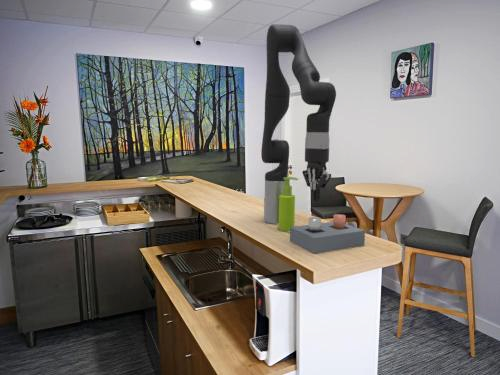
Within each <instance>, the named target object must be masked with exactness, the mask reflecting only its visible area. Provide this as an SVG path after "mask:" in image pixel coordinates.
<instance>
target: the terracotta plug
mask: <svg viewBox="0 0 500 375" xmlns="http://www.w3.org/2000/svg"><path fill="white" fill-rule="evenodd" d="M346 217H347V216H346V214H338V213H337V214H333V220H332V222H333V228H334V229H337V230H340V229H345V224H346V221H347V220H346Z"/></svg>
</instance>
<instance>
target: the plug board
mask: <svg viewBox="0 0 500 375" xmlns="http://www.w3.org/2000/svg"><path fill="white" fill-rule="evenodd" d="M308 229H309V224H303V225H294V227H290V232H289V242H291V243H293V244H294V245H295V246H296V245H297V246H298V247H300V248H302V249H304V250H306V251H307V252H310V253H312V254H314V255H315V254H321V253H326V252H332V251H333V252H334V251H339V250H344V249H345V250H346V249H350V248H357V247H361V246H365V240H366V230H364V229H362V228H359V227H356V226H353V225H350V224H347V223H345V229H340V230H337V229H334V228H333V221H328V222H321V232H319V233H311V232H309V231H308Z"/></svg>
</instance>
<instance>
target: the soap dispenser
mask: <svg viewBox="0 0 500 375" xmlns="http://www.w3.org/2000/svg"><path fill="white" fill-rule="evenodd" d="M284 180H285V185H284V186H283V194H282V195H279V224H278V230H279V231H280V232H286V233H287V232H289V233H290V227H294V226H295V214H296V213H295V210H296V196H295V194H293V192H292V191H293V187H292V185H290V184H291V183H290V182H291V181H290V180H293V181H298V180H299V178H297V177H293V176H292V177H291V176H290V177H289V176H288V177H284Z"/></svg>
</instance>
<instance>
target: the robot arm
mask: <svg viewBox="0 0 500 375" xmlns="http://www.w3.org/2000/svg"><path fill="white" fill-rule="evenodd" d="M279 53H292V54H293V59H292V62H291V71H292V73H293V75H294V78H295V79H296V81H297V82H298V86H299V90H300V96H301V99H302V101H303V102H304V103H305V104H307V105H309V106H319V107H318V109H317V111H316V112H312V113H310V114H308V115H307V116H306V126H305V127H306V133H305V139H304V140H305V142H304V161H305V163H307V164H306V169H305V170H302V176H303V178H304V180H305V183H306V186H307V187H309V188H310V190H311V192H310V197H311V202H320V199H321V190H323V189H325V188H326V186H327V185H328V183H329V182H330V180H331V178H332V174H331V173H329V172H328V171H327V165H326V164H327V163H329V161H330V119H331V116H332V111H333V109H334V105H335V103H336V99H337V91H336V87H335V85H334V84H333V83H331V82H327V81H326V82H325V81H321V79H320V78H321V75H320V73H319V72H320V71H318V69H317V67H316V65H315V64H314V62H312V60H311V58H310V56H309V53H308V51H307V49H306V45H305V43H304V40H303V38H302V35H301V33H300V31H299V29H298V28H297V26H295V25H293V24H280V23H279V24H277V23H276V24H275V23H274V24H270V26H269V27H268V29H267V33H266V81H265V82H266V83H265V95H264V96H265V97H264V123H263V132H262V141H261V142H262V143H261V150H260V151H261V153H260V154H261V160H262V163H264V164H278V165H277V167H275V168H274V169H272V170H270V171H267V172H265V175H264V198H263V220H264V222H265V223H267V224H275V225H276V224H277V225H279V195H282V194H283V186H284V185H285V180H284V177H289V162H290V160H289V159H290V145H289V142H288V141H287V140H285V139H284V140H283V139H279V140H278V139H272V138H273V135H274V132H275V130H276V129H277V127H278V125H279V124H280V122H281V121H282V120H283V118H284V116H286V114H287V112H288V109H289V107H290V97H291V89H290V85H289V84H288V81H287V79H286V78H285V77H286V76H284V74H283V72H282V69H281V66H280V60H279V56H280V54H279Z"/></svg>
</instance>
